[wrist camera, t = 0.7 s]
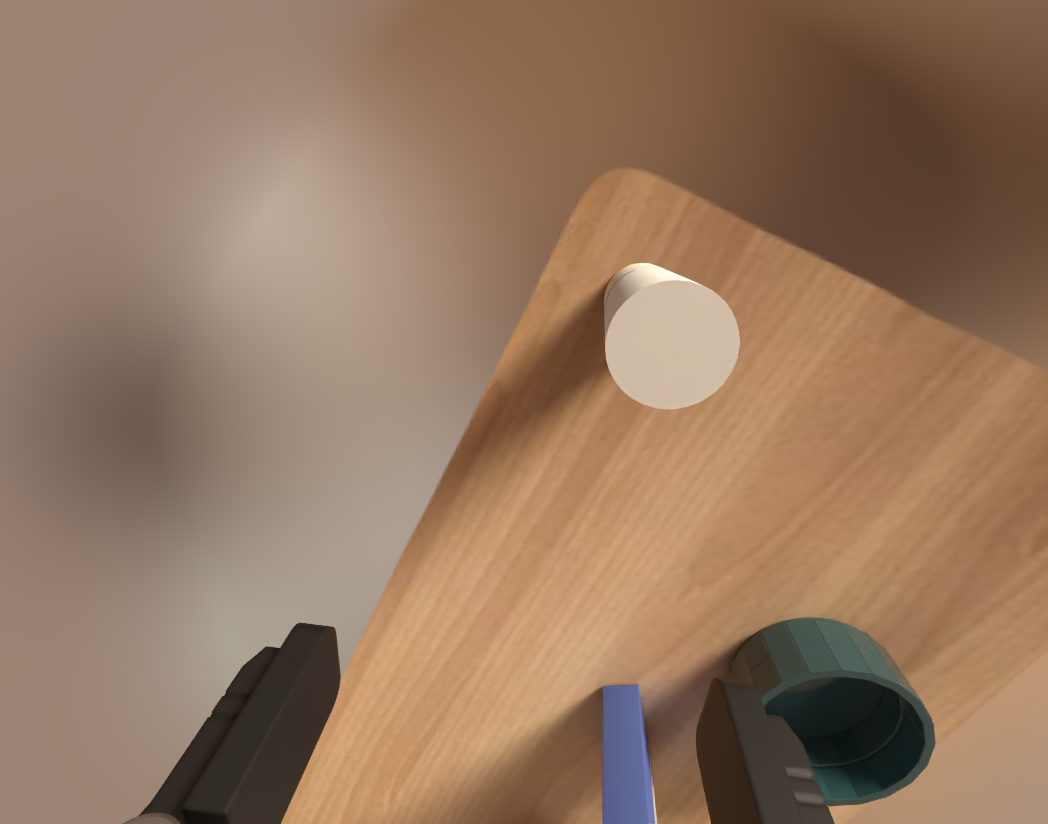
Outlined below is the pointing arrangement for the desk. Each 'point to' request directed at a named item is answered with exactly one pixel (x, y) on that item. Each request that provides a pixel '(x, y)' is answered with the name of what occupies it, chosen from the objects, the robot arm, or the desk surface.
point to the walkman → (626, 759)
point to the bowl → (840, 706)
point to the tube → (667, 337)
